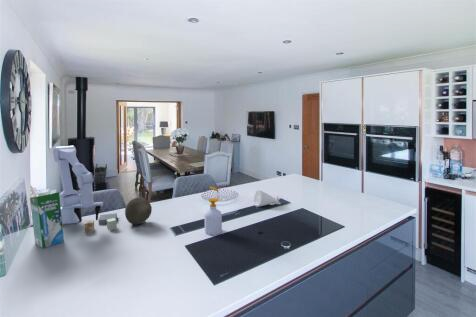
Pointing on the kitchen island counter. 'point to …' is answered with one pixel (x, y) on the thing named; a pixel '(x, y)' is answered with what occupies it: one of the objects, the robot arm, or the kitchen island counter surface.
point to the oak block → (89, 226)
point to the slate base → (107, 216)
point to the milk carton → (47, 219)
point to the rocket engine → (264, 199)
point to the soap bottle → (213, 218)
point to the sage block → (111, 224)
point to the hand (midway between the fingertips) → (88, 220)
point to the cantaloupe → (138, 211)
